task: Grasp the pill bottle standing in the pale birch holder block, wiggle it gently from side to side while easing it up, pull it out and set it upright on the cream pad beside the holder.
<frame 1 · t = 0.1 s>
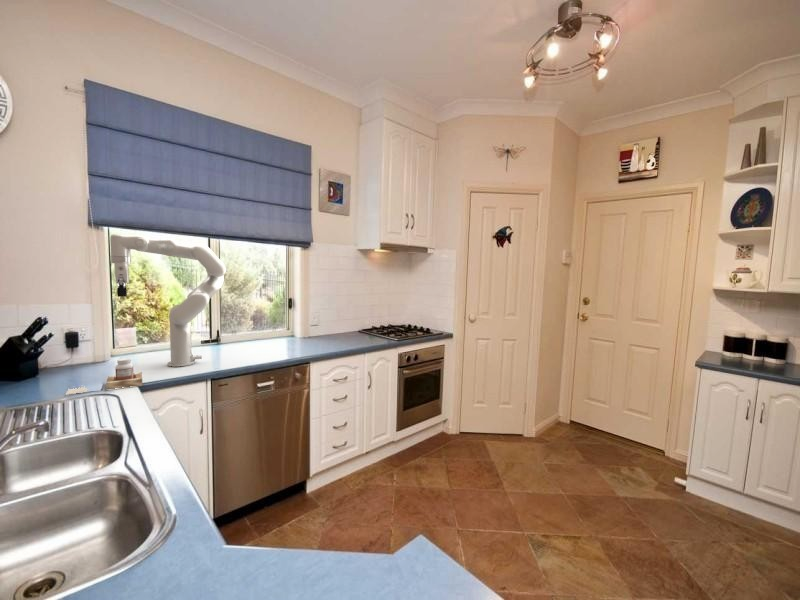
hand: (122, 295, 175), 37 cm above the countertop, tool pointing down, fingers open, 9 cm apart
pill bottle: (125, 384, 156), resting in holder block
cream pad: (85, 389, 149), on the countertop
holder block: (125, 384, 156), on the countertop
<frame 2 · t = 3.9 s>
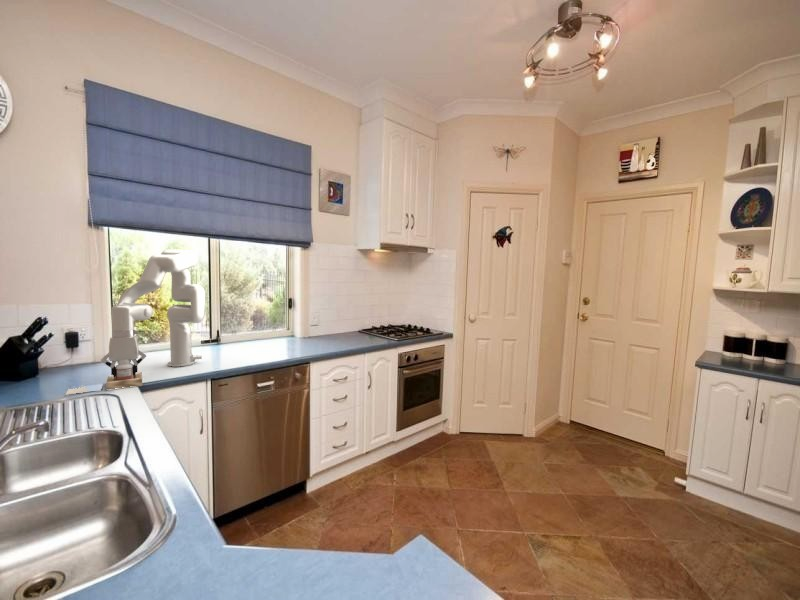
hand: (124, 374, 156), 4 cm above the countertop, tool pointing down, fingers closed on pill bottle, 6 cm apart
pill bottle: (125, 384, 156), resting in holder block, touching gripper
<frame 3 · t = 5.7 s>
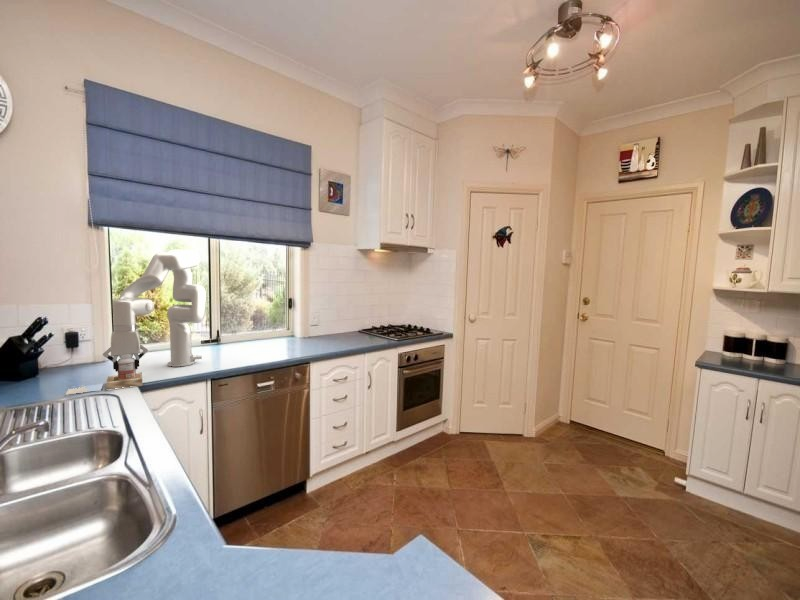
hand: (126, 369, 156), 6 cm above the countertop, tool pointing down, fingers closed on pill bottle, 6 cm apart
pill bottle: (127, 379, 157), point 2 cm above the countertop, touching gripper, holder block
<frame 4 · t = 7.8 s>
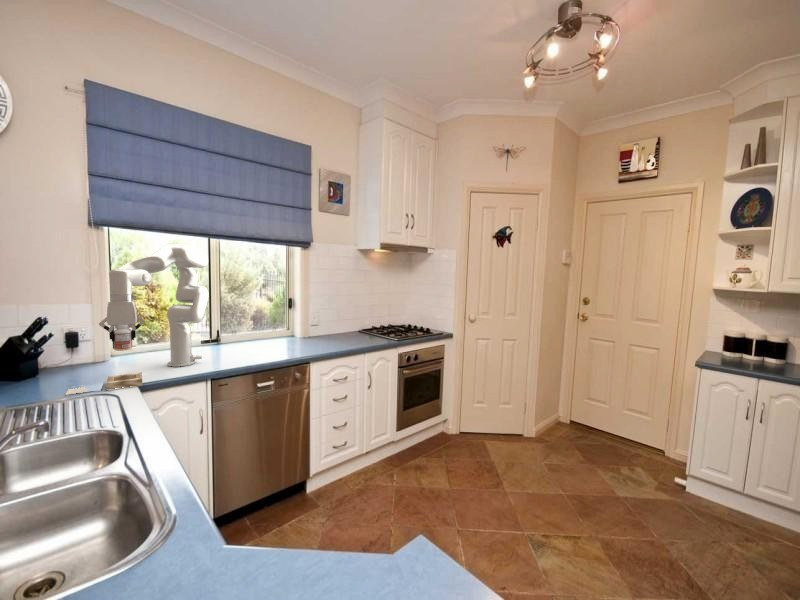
hand: (123, 339, 155), 19 cm above the countertop, tool pointing down, fingers closed on pill bottle, 6 cm apart
pill bottle: (123, 350, 155), point 15 cm above the countertop, touching gripper
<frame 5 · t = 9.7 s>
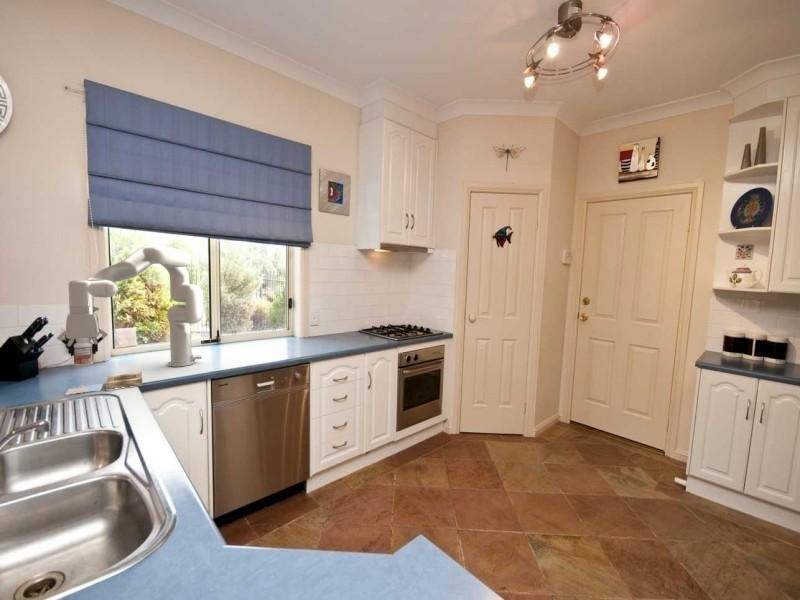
hand: (83, 354, 148), 15 cm above the countertop, tool pointing down, fingers closed on pill bottle, 6 cm apart
pill bottle: (83, 364, 148), point 10 cm above the countertop, touching gripper
when the fingers open (6 cm above the countertop, at t = 11.7 s): pill bottle drops 1 cm, resting on cream pad.
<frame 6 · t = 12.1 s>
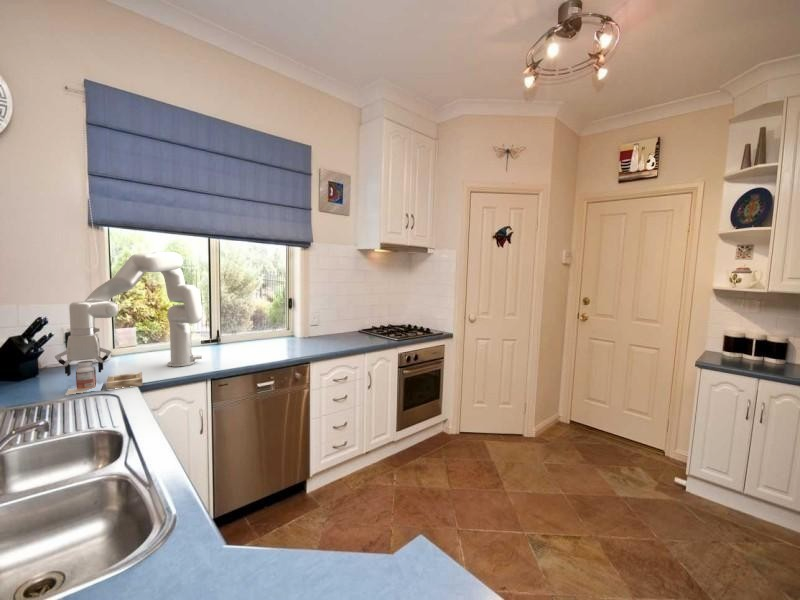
hand: (84, 373, 148), 7 cm above the countertop, tool pointing down, fingers open, 9 cm apart
pill bottle: (86, 388, 149), resting on cream pad
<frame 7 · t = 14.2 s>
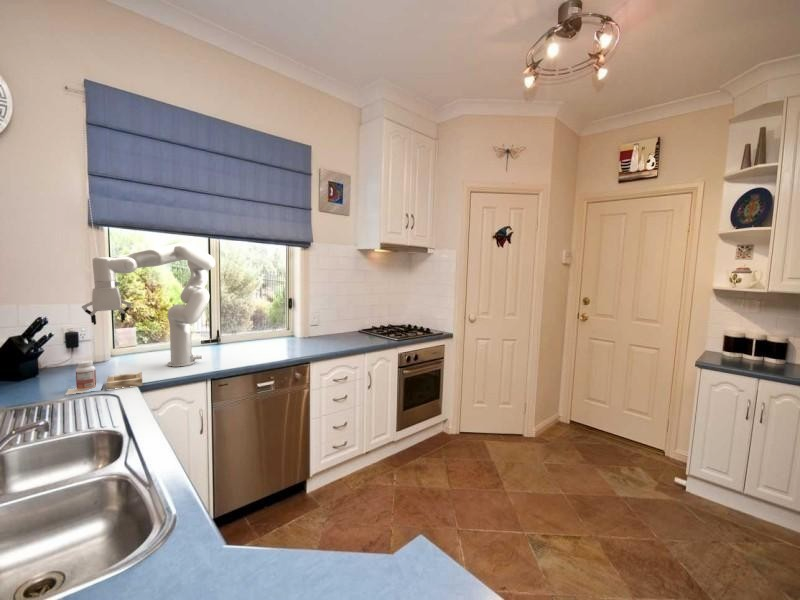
hand: (108, 323, 162), 25 cm above the countertop, tool pointing down, fingers open, 9 cm apart
nothing on the countertop moved.
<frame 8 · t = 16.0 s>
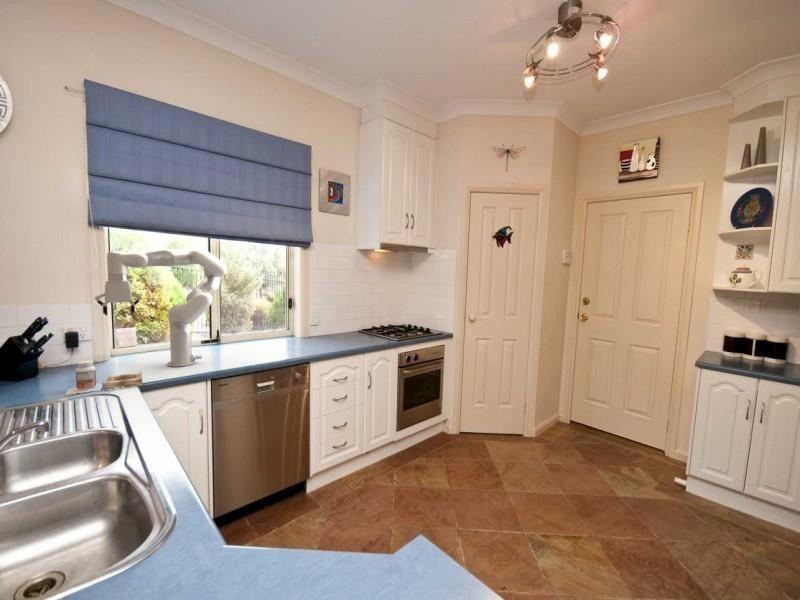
hand: (119, 314, 170), 28 cm above the countertop, tool pointing down, fingers open, 9 cm apart
nothing on the countertop moved.
at the end: pill bottle inside the target area on the cream pad (0.3 cm from its centre), point 0.2 cm above the cream pad's base; pill bottle tilted 0°; pill bottle touching cream pad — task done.
